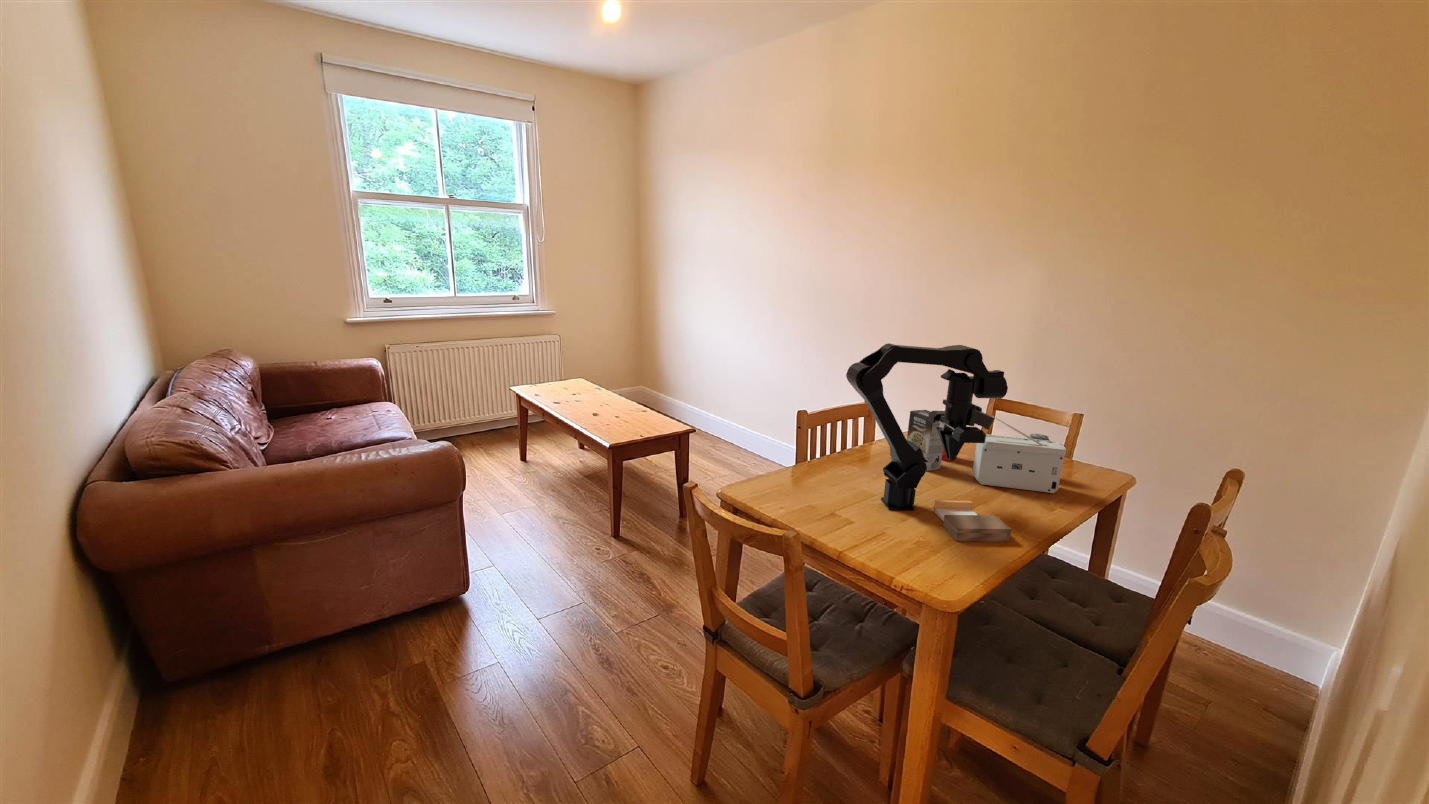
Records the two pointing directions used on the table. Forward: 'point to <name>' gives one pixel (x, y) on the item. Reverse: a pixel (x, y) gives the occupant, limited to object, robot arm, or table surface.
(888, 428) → the robot arm
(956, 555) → the table surface
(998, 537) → the taupe rectangular slab
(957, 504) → the plate
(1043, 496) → the table surface
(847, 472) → the table surface
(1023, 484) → the stereo radio cassette player
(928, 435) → the coffee box
